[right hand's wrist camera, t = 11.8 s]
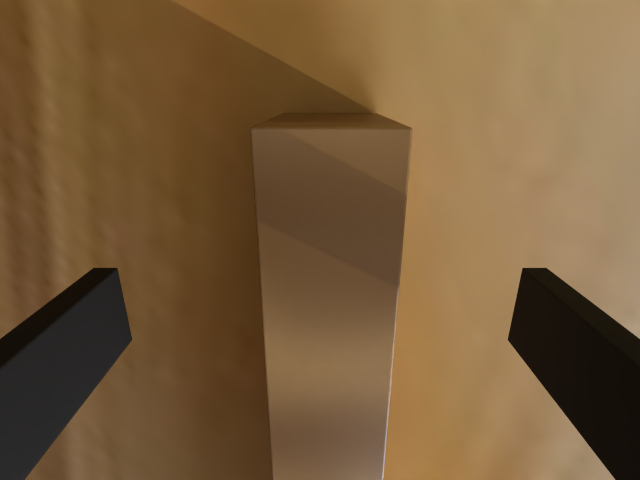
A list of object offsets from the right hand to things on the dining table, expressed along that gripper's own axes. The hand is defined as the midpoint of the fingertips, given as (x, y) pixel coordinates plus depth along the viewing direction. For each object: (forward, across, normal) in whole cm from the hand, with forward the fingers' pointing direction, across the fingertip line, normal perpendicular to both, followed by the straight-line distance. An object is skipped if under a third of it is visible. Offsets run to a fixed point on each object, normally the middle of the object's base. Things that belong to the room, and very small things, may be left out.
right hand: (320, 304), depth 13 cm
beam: (+8, 0, -34) cm, 35 cm away
